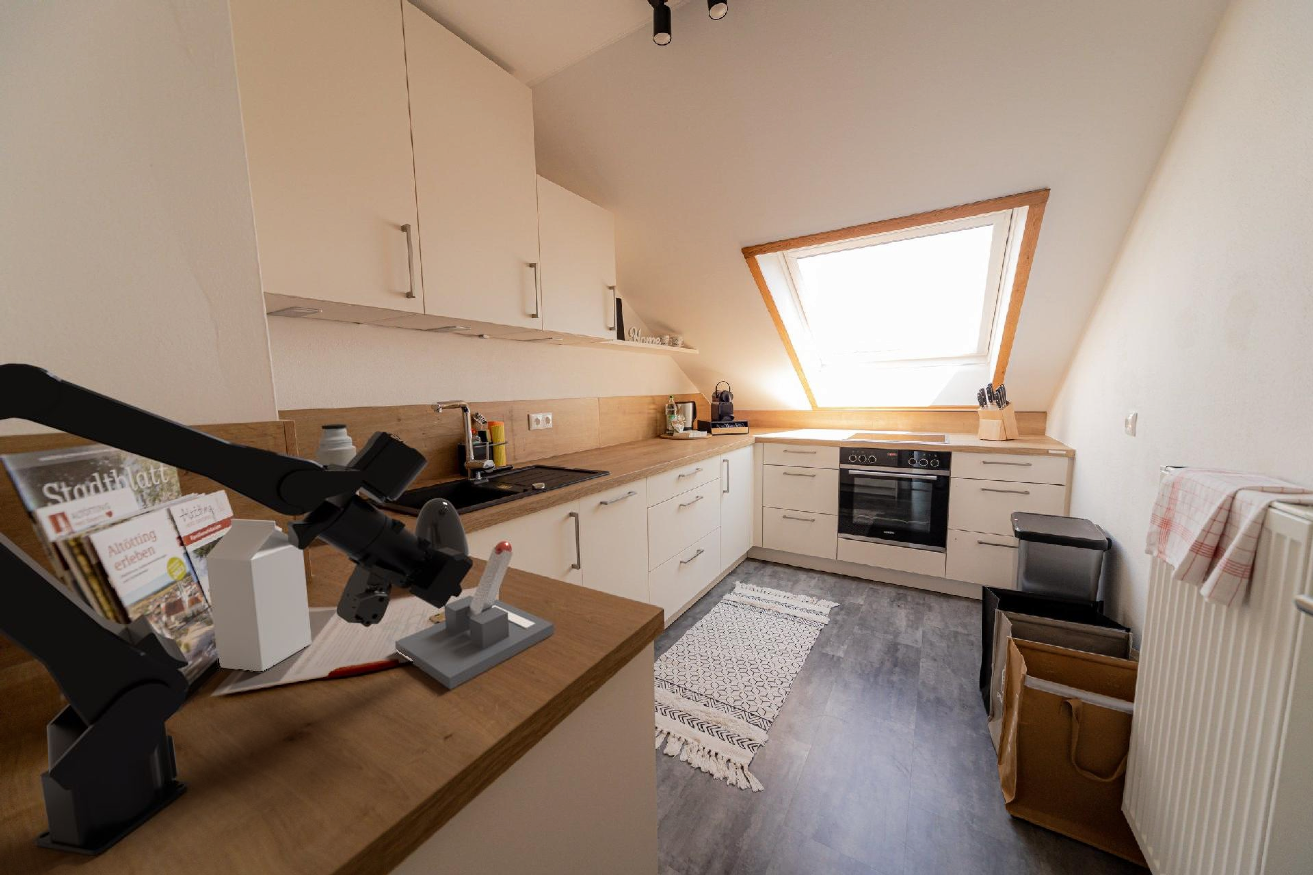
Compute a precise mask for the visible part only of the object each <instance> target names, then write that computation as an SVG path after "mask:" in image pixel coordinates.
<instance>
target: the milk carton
mask: <svg viewBox="0 0 1313 875" xmlns="http://www.w3.org/2000/svg"><path fill="white" fill-rule="evenodd" d="M230 525H231V526H230V528H229V529H228V530H227V532H226V533H225V534H224V535H223V536H222V538H221V539H220V540H219V541H218V542H217V543H216V544H215V546H214V547H213V548H211V550H210V551H209V553H208V554H206V556H205V563H206V571H207V581H208V589H209V599H210V605H211V612H212V613H211V614H212V615H211V616H212V623H213V630H214V632H213V633H214V641H215V648H216V655H217V654H218V658H219V663H220V666H221V667H220V668H224V669H229V670H230V669H231V670H232V669H233V670H238V669H244V670H243V671H246V670H250V671H249V672H253V671H263V672H265V671H267V670H268V669H270V668H272V667H274V666H276V665H277V664H279V663H280V662H282V661H284V660H287V658H289V657H291V656H292V655H294V654H296V653H298V652H300V651H301V650H303V649H305V648H306V647H308V646H310V645H312V642H313V641H312V632H311V623H310V622H311V621H310V612H309V602H308V601H309V600H308V592H307V580H306V568H305V561H304V560H305V558H304V550H300V549H298V548H296V547H294V546H293V545H291V544H289V543H288V534H286V533H285V532H283V528H281V527H279V526H278V525H276V521H275V520H263V519H261V520H260V519H244V518H243V519H241V518H240V519H239V518H231V519H230ZM304 647H305V648H304ZM218 658H217V659H218ZM273 665H274V666H273ZM245 669H246V670H245ZM266 669H267V670H266ZM251 670H253V671H251ZM264 670H265V671H264Z"/></svg>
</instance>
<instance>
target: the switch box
mask: <svg viewBox="0 0 1313 875" xmlns="http://www.w3.org/2000/svg"><path fill="white" fill-rule="evenodd" d="M473 597H474V596H472V595H467V596H464V597H461V598H459V599H457V600H455V601H451V602H449V603H446V605H445V606H443V607H444V619H445V620H444V621H441V622H439V623H436V624H434V625H432V626H429V627H428V628H425V629H424V628H423V629H422V630H420V631H417V632H415V633H412V634H410V635H407V636H405V637H403V638H399V639H398V640H395V642H394V643H395V644H394V645H395V646H394V647H395V650H396V649H397V650H398V651H399V652H401V653H402V654H404V655H405V656H408V657H409V658H411V659H412V660H413V663H412V665H414V666H415V667H417V668H418V667H419V668H418V669H420V670H421V671H423V672H424V673H426V674H427V675H429V676H430V677H432V679H435V680H436V681H437V682H439V683H440V684H442V685H443V686H444V687H446V688H447V689H448V690H451V691H452V690H453V689H454V688H457V687H458V686H460V685H461V684H463V683H466V682H467V681H469V680H471V679H473V678H475V677H476V676H478V675H480V674H482V673H484V672H486V671H488V670H490V669H492V668H493V667H495V666H497V665H499V664H500V663H503V662H504V661H506V660H508V659H510V658H512V657H514V656H515V655H517V654H520V653H521V652H523V651H524V650H527V649H528V648H530V647H532V646H535V644H538V643H539V642H541V641H544V640H545V639H547V638H548V637H551V636H552V635H554V634H555V629H554V628H555V626H554V624H555V623H552V622H551V621H548V620H545V619H543V618H541V617H538V616H536V615H535V614H532V613H529V612H527V611H525V610H523V609H520V608H518V607H516V606H513V605H511V604H509V603H506V602H504V601H501V600H500V599H497V598H495V601H494V603H493V606H492V608H491V609H489V610H486V611H484V612H482V613H479V614H477V615H475V616H472V617H468V616H466V615H467V612H468V610H469V607H470V605H471V602H472V600H473Z"/></svg>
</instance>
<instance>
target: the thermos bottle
mask: <svg viewBox="0 0 1313 875" xmlns="http://www.w3.org/2000/svg"><path fill="white" fill-rule="evenodd" d="M321 429H322V437H321V438H320V439H318V446H319V447H318V448H316V450H315V453H316V454H315V455H316V462H317V463H319V464H320V465H329V464H330V463H333V464H337V465H342V466H346V465H347V464H348V463H349V462H350V461H351V460H352V459H353V458H354V457H355V456H356V454H357V447H356V446H354V445H353V440H352V436H348V430H347V424H344V423H343V424H342V423H341V424H339V423H334V424H324V425H321ZM359 492H360V491H359V490H358V491H357V492H356V494H358V495H359V496H360V493H359ZM327 499H329V498H327ZM327 499H326V500H327Z"/></svg>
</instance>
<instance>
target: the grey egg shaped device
mask: <svg viewBox="0 0 1313 875" xmlns="http://www.w3.org/2000/svg"><path fill="white" fill-rule="evenodd" d="M415 522H416V523H415V526H414V530H413V534H415V535H416V536H419V537H422V538H425V539H426V540H428V541H429V542H431V544H430V545H429V546H431V547H434V548H435V550H439V549H443V548H446V547H448V548H451V549H453V550H456V551H459V552H462V553H463V554H465V555H466V556H468V557H469V554H470V549H469V542H468V539H467V536H466V531H465V529H464V525H463V523H462V521H461V518H460V515H459V513H458V512H457V510H456V508H455V506H454V505H453V504H452V503H451V502H450V501H449V500H447V499H445V498H442V497H438V498H437V497H436V498H433V499H430V500H428V501H427V502H426V503H424V505H423V507H422V508H421V510H420V512H419V514H418V515H417V520H416V521H415Z"/></svg>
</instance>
